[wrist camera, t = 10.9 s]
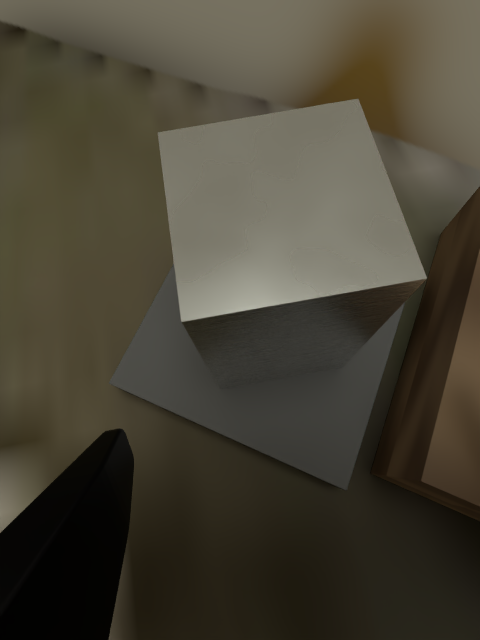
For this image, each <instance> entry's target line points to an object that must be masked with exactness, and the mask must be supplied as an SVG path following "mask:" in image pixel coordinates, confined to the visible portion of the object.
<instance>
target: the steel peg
mask: <svg viewBox="0 0 480 640" xmlns="http://www.w3.org/2000/svg"><path fill="white" fill-rule="evenodd" d="M158 138H159V146H160V154H161V162H162V171H163V179H164V187H165V195H166V203H167V211H168V219H169V227H170V235H171V243H172V251H173V259H174V267H175V275H176V283H177V291H178V299H179V308H180V316H181V322H182V324H183V326H184V327H185V329H186V331H187V333H188V334H189V336H190V338H191V340H192V341H193V343H194V345H195V347H196V348H197V350H198V352H199V354H200V355H201V357H202V359H203V361H204V362H205V364H206V366H207V367H208V369H209V371H210V373H211V374H212V376H213V378H214V380H215V381H216V383H217V385H218V387H219V388H220V389H224V388H230V387H235V386H241V385H246V384H252V383H258V382H263V381H269V380H274V379H280V378H285V377H291V376H296V375H302V374H308V373H313V372H319V371H324V370H330V369H335V368H341V367H344V365H345V364H346V363H347V362H348V361H349V360H350V359H351V358H352V357H353V356H354V355H355V354H356V353H357V352H358V351H359V350H360V349H361V348H362V347H363V345H364V344H365V343H366V342H367V341H368V340H369V339H370V338H371V337H372V336H373V335H374V334H375V333H376V332H377V331H378V330H379V329H380V328H381V327H382V325H383V324H384V323H385V322H386V321H387V320H388V319H389V318H390V317H391V316H392V315H393V314H394V313H395V312H396V311H397V310H398V309H399V308H400V307H401V305H402V304H403V303H404V302H405V301H406V300H407V299H408V298H409V297H410V296H411V295H412V294H413V293H414V292H415V291H416V290H417V289H418V288H419V287H420V285H421V284H422V283H423V282H424V281H425V280H426V279H427V277H426V274H425V272H424V269H423V266H422V264H421V261H420V259H419V256H418V253H417V251H416V248H415V246H414V243H413V240H412V238H411V235H410V232H409V230H408V227H407V225H406V222H405V219H404V217H403V214H402V212H401V209H400V206H399V204H398V201H397V199H396V196H395V193H394V191H393V188H392V186H391V183H390V180H389V178H388V175H387V173H386V170H385V167H384V165H383V162H382V160H381V157H380V154H379V152H378V149H377V146H376V144H375V141H374V139H373V136H372V133H371V131H370V128H369V126H368V123H367V121H366V118H365V116H364V113H363V110H362V107H361V105H360V102H359V100H358V99H354V100H348V101H342V102H336V103H330V104H325V105H318V106H312V107H307V108H301V109H295V110H289V111H283V112H277V113H271V114H265V115H259V116H253V117H247V118H241V119H235V120H229V121H224V122H218V123H212V124H206V125H200V126H194V127H188V128H182V129H176V130H170V131H164V132H158Z"/></svg>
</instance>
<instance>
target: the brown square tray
mask: <svg viewBox="0 0 480 640" xmlns="http://www.w3.org/2000/svg"><path fill="white" fill-rule="evenodd" d="M371 474H373V475H375V476H378V477H380V478H382V479H384V480H387V481H389V482H391V483H394V484H396V485H398V486H400V487H403V488H405V489H407V490H409V491H412V492H414V493H416V494H419V495H421V496H423V497H425V498H428V499H430V500H432V501H435V502H437V503H439V504H441V505H444V506H446V507H448V508H451V509H453V510H455V511H457V512H460V513H462V514H464V515H467V516H469V517H471V518H473V519H476V520H478V521H480V187H479V188H478V189H477V190H476V192H475V193H474V194H473V195H472V196H471V198H470V199H469V200H468V201H467V202H466V204H465V205H464V206H463V207H462V209H461V210H460V211H459V212H458V213H457V215H456V216H455V217H454V218H453V220H452V221H451V222H450V223H449V224H448V226H447V227H446V228H445V229H444V231H443V232H442V233H441V235H440V239H439V242H438V246H437V249H436V252H435V256H434V259H433V263H432V266H431V269H430V273H429V276H428V279H427V283H426V286H425V290H424V293H423V296H422V300H421V303H420V307H419V310H418V313H417V317H416V320H415V323H414V327H413V330H412V334H411V337H410V340H409V344H408V347H407V351H406V354H405V357H404V361H403V364H402V368H401V371H400V374H399V378H398V381H397V384H396V388H395V391H394V395H393V398H392V401H391V405H390V408H389V412H388V415H387V418H386V422H385V425H384V428H383V432H382V435H381V439H380V442H379V445H378V449H377V452H376V456H375V459H374V462H373V466H372V469H371Z"/></svg>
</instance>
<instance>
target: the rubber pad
mask: <svg viewBox="0 0 480 640" xmlns="http://www.w3.org/2000/svg"><path fill="white" fill-rule="evenodd" d="M404 304H405V302H404V303H403V304H402V305H401V307H400V308H399V309H398V310H397V311H396V312H395V313H394V314H393V315H392V316H391V317H390V318H389V319H388V320H387V321H386V322H385V323H384V324H383V325H382V327H381V328H380V329H379V330H378V331H377V332H376V333H375V334H374V335H373V336H372V337H371V338H370V339H369V340H368V341H367V342H366V343H365V344H364V345H363V347H362V348H361V349H360V350H359V351H358V352H357V353H356V354H355V355H354V356H353V357H352V358H351V359H350V360H349V361H348V362H347V363H346V364H345V365H344V367H341V368H335V369H330V370H324V371H319V372H313V373H308V374H302V375H296V376H291V377H285V378H280V379H274V380H269V381H263V382H258V383H252V384H246V385H241V386H235V387H230V388H224V389H220V388H219V387H218V385H217V383H216V381H215V380H214V378H213V376H212V374H211V373H210V371H209V369H208V367H207V366H206V364H205V362H204V361H203V359H202V357H201V355H200V354H199V352H198V350H197V348H196V347H195V345H194V343H193V341H192V340H191V338H190V336H189V334H188V333H187V331H186V329H185V327H184V326H183V324H182V322H181V316H180V308H179V299H178V291H177V283H176V275H175V267H174V264H173V266H172V268H171V270H170V272H169V273H168V275H167V277H166V279H165V281H164V283H163V284H162V286H161V288H160V290H159V292H158V294H157V295H156V297H155V299H154V301H153V303H152V305H151V307H150V308H149V310H148V312H147V314H146V316H145V318H144V319H143V321H142V323H141V325H140V327H139V329H138V331H137V332H136V334H135V336H134V338H133V340H132V342H131V343H130V345H129V347H128V349H127V351H126V353H125V354H124V356H123V358H122V360H121V362H120V364H119V366H118V367H117V369H116V371H115V373H114V375H113V377H112V378H111V380H110V382H109V384H111V385H113V386H116V387H118V388H120V389H122V390H124V391H126V392H128V393H131V394H133V395H135V396H137V397H139V398H142V399H144V400H146V401H148V402H150V403H153V404H155V405H157V406H159V407H162V408H164V409H166V410H168V411H170V412H173V413H175V414H177V415H179V416H181V417H184V418H186V419H188V420H190V421H193V422H195V423H197V424H199V425H201V426H204V427H206V428H208V429H210V430H212V431H215V432H217V433H219V434H221V435H223V436H226V437H228V438H230V439H232V440H235V441H237V442H239V443H241V444H243V445H246V446H248V447H250V448H252V449H254V450H257V451H259V452H261V453H263V454H265V455H268V456H270V457H272V458H274V459H277V460H279V461H281V462H283V463H285V464H288V465H290V466H292V467H294V468H296V469H299V470H301V471H303V472H305V473H308V474H310V475H312V476H314V477H316V478H319V479H321V480H323V481H325V482H327V483H330V484H332V485H334V486H336V487H339V488H341V489H344V490H346V491H347V488H348V485H349V482H350V478H351V475H352V472H353V469H354V465H355V462H356V459H357V456H358V452H359V449H360V446H361V443H362V440H363V436H364V433H365V430H366V427H367V423H368V420H369V417H370V414H371V410H372V407H373V404H374V401H375V398H376V394H377V391H378V388H379V385H380V381H381V378H382V375H383V372H384V369H385V365H386V362H387V359H388V356H389V352H390V349H391V346H392V343H393V339H394V336H395V333H396V330H397V327H398V323H399V320H400V317H401V314H402V310H403V307H404Z"/></svg>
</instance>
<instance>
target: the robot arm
mask: <svg viewBox="0 0 480 640" xmlns="http://www.w3.org/2000/svg"><path fill="white" fill-rule="evenodd" d="M133 472H134V457H133V453H132V450H131V448H130V445H129V442H128V439H127V436H126V434H125V432H124V430H123V429H114V430H109V431H105V432H104V433H102V434H101V435H100V436H99V437H98V438H97V439H96V440H95V441H94V442H93V443H92V444H91V445H90V446H89V447H88V448H87V449H86V450H85V451H84V452H83V453H82V454H81V455H80V456H79V457H78V458H77V459H76V460H75V461H74V462H73V463H72V464H71V465H70V466H69V467H68V468H67V469H65V470H64V471H63V472H62V473H61V474H60V475H59V476H58V477H57V478H56V479H55V480H54V481H53V482H52V483H51V484H50V485H49V486H48V487H47V488H46V489H45V490H44V491H43V492H42V493H41V494H40V495H39V496H38V497H37V498H36V499H35V500H34V501H33V502H32V503H31V504H30V505H29V506H28V507H27V508H25V509H24V510H23V511H22V512H21V513H20V514H19V515H18V516H17V517H16V518H15V519H14V520H13V521H12V522H11V523H10V524H9V525H8V526H7V527H6V528H5V529H4V530H3V531H2V532H1V533H0V640H108V639H109V633H110V628H111V623H112V617H113V612H114V607H115V602H116V596H117V591H118V586H119V580H120V575H121V570H122V564H123V559H124V554H125V548H126V543H127V538H128V531H129V523H130V512H131V499H132V486H133Z"/></svg>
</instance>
